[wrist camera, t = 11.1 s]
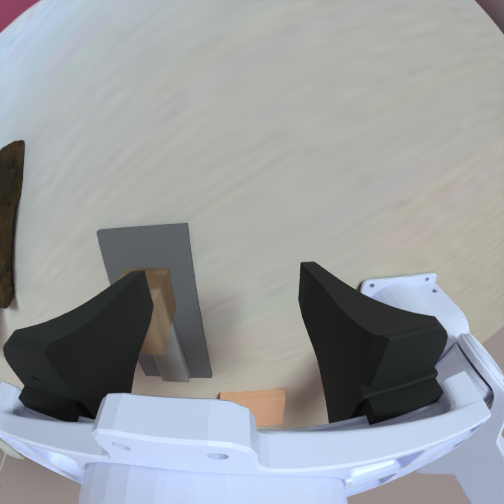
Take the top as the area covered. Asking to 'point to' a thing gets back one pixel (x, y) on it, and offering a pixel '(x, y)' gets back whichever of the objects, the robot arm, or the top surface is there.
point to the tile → (261, 404)
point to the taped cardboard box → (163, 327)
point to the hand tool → (8, 212)
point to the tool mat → (182, 277)
